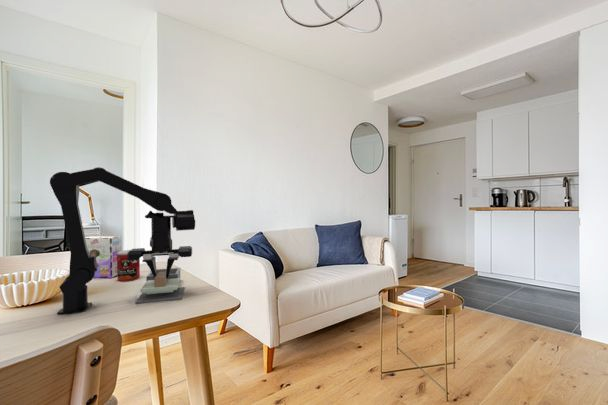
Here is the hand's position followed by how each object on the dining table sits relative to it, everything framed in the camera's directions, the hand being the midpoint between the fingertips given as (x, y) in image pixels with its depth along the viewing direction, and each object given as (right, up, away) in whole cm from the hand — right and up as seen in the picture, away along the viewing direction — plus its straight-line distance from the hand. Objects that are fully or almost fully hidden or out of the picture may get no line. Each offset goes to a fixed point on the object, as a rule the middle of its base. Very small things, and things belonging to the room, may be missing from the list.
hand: (161, 278), depth 97 cm
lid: (0, -4, 0) cm, 4 cm away
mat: (0, -6, 0) cm, 6 cm away
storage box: (-5, -5, +12) cm, 14 cm away
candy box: (-37, -6, +25) cm, 45 cm away
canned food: (-23, -6, +21) cm, 31 cm away
